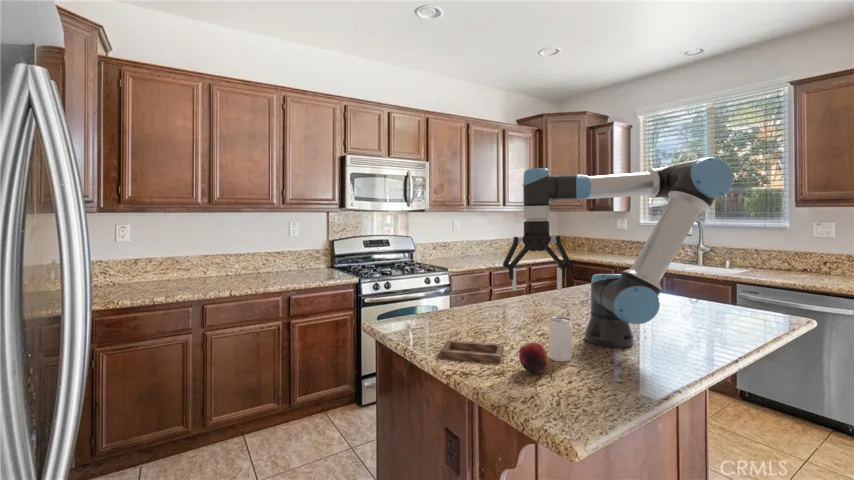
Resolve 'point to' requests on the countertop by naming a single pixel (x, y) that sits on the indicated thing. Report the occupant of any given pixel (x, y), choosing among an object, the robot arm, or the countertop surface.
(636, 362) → the countertop surface
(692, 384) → the countertop surface
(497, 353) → the socket
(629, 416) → the countertop surface
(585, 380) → the countertop surface
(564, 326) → the can
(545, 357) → the fruit
